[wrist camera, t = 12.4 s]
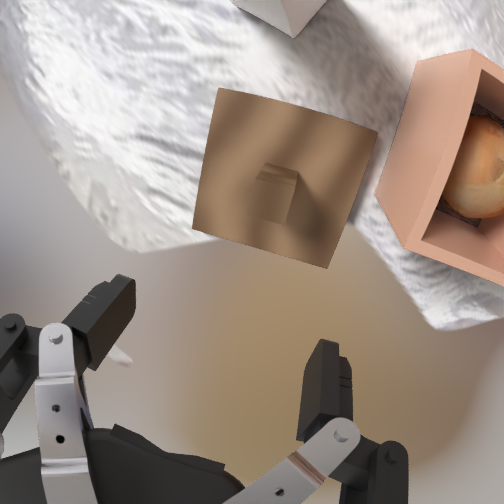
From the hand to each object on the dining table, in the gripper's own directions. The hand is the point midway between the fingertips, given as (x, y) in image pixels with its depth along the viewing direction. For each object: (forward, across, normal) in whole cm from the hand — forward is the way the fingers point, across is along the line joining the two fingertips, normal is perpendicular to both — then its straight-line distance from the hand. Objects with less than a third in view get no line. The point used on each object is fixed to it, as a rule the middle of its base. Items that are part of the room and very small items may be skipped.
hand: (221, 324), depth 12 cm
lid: (+21, 0, 0) cm, 21 cm away
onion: (+22, -17, -9) cm, 30 cm away
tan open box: (+22, -17, -9) cm, 30 cm away
